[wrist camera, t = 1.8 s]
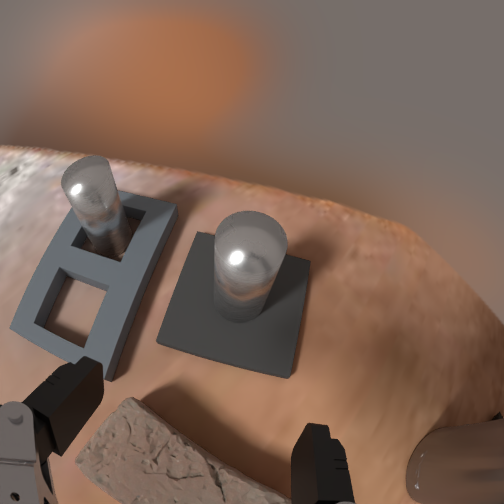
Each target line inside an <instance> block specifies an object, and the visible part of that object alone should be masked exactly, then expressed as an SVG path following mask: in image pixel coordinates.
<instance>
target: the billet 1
mask: <svg viewBox="0 0 504 504" xmlns="http://www.w3.org/2000/svg"><path fill="white" fill-rule="evenodd" d="M61 185H62V188H63V190H64V192H65V194H66V196H67V198H68V200H69V202H70V204H71V206H72V208H73V210H74V212H75V214H76V216H77V218H78V219H79V221H80V223H81V225H82V227H83V229H84V230H85V232H86V234H87V236H88V238H89V239H90V241H91V243H92V245H93V246H94V248H95V250H96V251H97V252H98V253H99V254H100V255H102V256H104V257H114V256H117V255H120V254H122V253H123V252H124V251H125V250H126V249H127V248H128V246H129V244H130V242H131V240H132V231H131V228H130V225H129V223H128V220H127V217H126V214H125V211H124V208H123V205H122V202H121V199H120V196H119V193H118V190H117V187H116V184H115V181H114V178H113V175H112V171H111V168H110V165H109V162H108V161H107V159H105V158H104V157H101V156H88V157H84V158H82V159H79V160H78V161H76V162H74V163H73V164H72V165H70V166H69V167H68V168H67V170H66V171H65V172H64V174H63V176H62V180H61Z"/></svg>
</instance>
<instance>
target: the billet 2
mask: <svg viewBox="0 0 504 504" xmlns="http://www.w3.org/2000/svg"><path fill="white" fill-rule="evenodd" d="M286 251H287V237H286V234H285V232H284V230H283V228H282V227H281V225H280V224H279V223H278V222H277V221H276V220H274V219H273V218H272V217H270V216H268V215H266V214H264V213H260V212H256V211H241V212H237V213H234V214H232V215H230V216H228V217H227V218H225V219H224V220H223V221H222V222H221V223H220V225H219V226H218V228H217V230H216V234H215V254H214V304H215V307H216V309H217V311H218V312H219V314H220V315H221V316H222V317H223V318H225V319H226V320H228V321H231V322H235V323H245V322H249V321H251V320H253V319H255V318H256V317H257V316H258V315H259V314H260V312H261V311H262V308H263V306H264V304H265V301H266V299H267V297H268V294H269V292H270V290H271V287H272V285H273V283H274V280H275V278H276V276H277V273H278V271H279V268H280V266H281V264H282V261H283V259H284V256H285V254H286Z"/></svg>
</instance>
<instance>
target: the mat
mask: <svg viewBox="0 0 504 504" xmlns="http://www.w3.org/2000/svg"><path fill="white" fill-rule="evenodd" d="M214 254H215V236H214V235H210V234H206V233H202V232H198V231H197V233H196V236H195V238H194V241H193V243H192V246H191V248H190V251H189V253H188V256H187V258H186V261H185V263H184V266H183V269H182V271H181V274H180V276H179V279H178V282H177V284H176V287H175V290H174V292H173V295H172V298H171V300H170V303H169V306H168V308H167V311H166V314H165V317H164V319H163V322H162V325H161V328H160V331H159V334H158V336H157V339H156V342H157V343H158V344H161V345H164V346H167V347H170V348H173V349H176V350H179V351H182V352H185V353H189V354H192V355H195V356H199V357H202V358H206V359H209V360H213V361H216V362H220V363H223V364H227V365H231V366H235V367H239V368H243V369H247V370H251V371H255V372H259V373H263V374H268V375H272V376H277V377H281V378H286V379H288V378H290V374H291V369H292V365H293V360H294V355H295V349H296V344H297V339H298V334H299V328H300V323H301V317H302V312H303V306H304V300H305V294H306V288H307V282H308V275H309V269H310V262H311V261H309V260H305V259H301V258H297V257H294V256H290V255H286V254H285V256H284V259H283V261H282V264H281V266H280V268H279V271H278V273H277V276H276V278H275V280H274V283H273V285H272V287H271V290H270V292H269V294H268V297H267V299H266V301H265V304H264V306H263V308H262V311H261V312H260V314H259V315H258V316H257V317H256V318H255V319H253V320H251V321H249V322H245V323H235V322H231V321H228V320H226V319H225V318H223V317H222V316H221V315H220V314H219V312H218V311H217V309H216V307H215V304H214Z"/></svg>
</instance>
